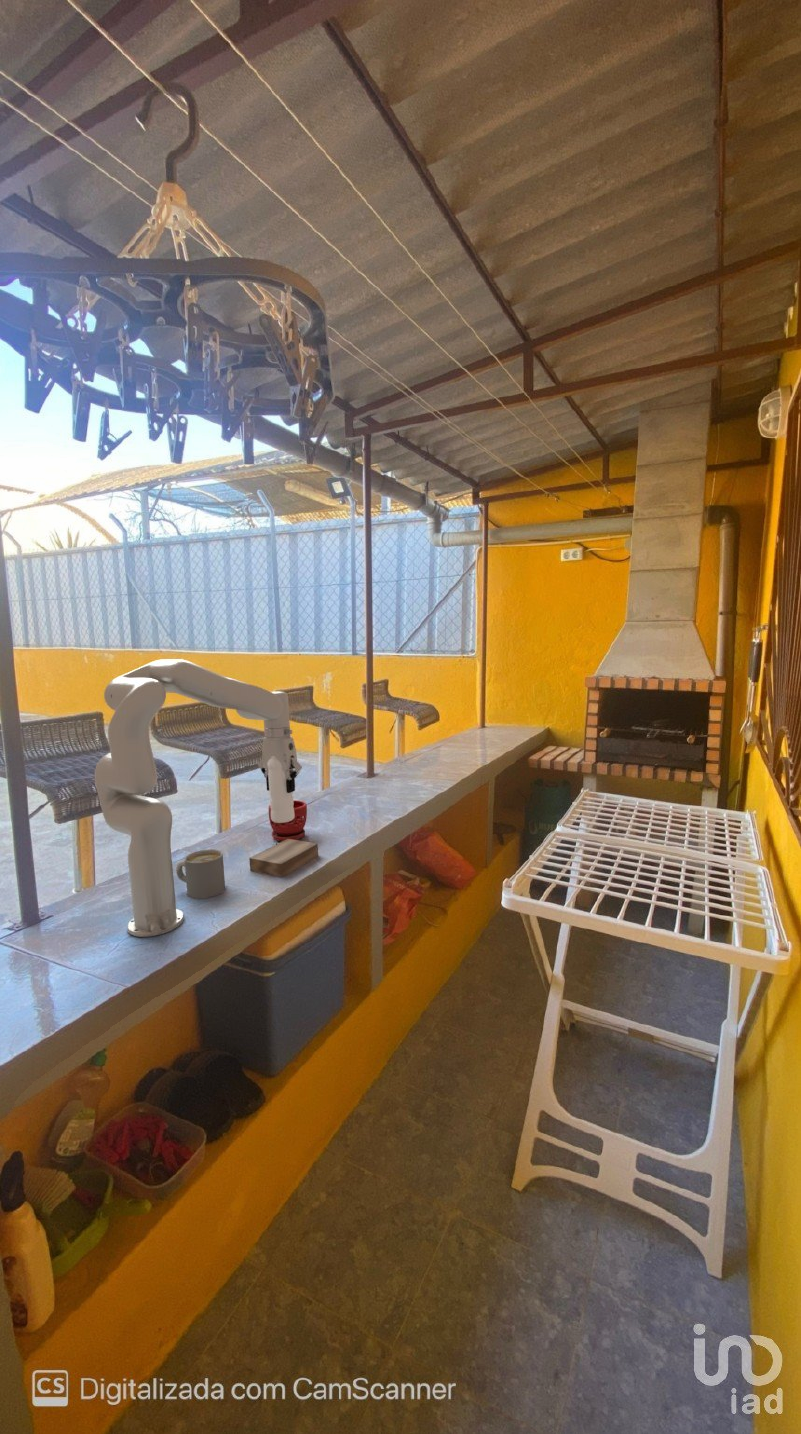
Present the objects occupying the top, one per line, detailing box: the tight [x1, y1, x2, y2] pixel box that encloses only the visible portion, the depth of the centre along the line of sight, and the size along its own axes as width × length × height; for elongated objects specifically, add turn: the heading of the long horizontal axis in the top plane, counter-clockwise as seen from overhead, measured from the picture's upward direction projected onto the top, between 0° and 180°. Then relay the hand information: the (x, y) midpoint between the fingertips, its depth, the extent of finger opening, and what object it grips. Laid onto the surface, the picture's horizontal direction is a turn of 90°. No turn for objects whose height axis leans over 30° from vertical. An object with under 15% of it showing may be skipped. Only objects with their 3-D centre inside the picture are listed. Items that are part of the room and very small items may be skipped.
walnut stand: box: [248, 839, 319, 878], centre depth 173 cm, size 12×18×4 cm, turn 153°
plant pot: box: [268, 799, 308, 842], centre depth 196 cm, size 13×13×12 cm
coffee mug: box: [176, 849, 226, 899], centre depth 155 cm, size 13×10×10 cm
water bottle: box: [267, 756, 295, 823], centre depth 170 cm, size 7×7×25 cm
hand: (281, 790), depth 170 cm, fingers closed on water bottle, 7 cm apart
